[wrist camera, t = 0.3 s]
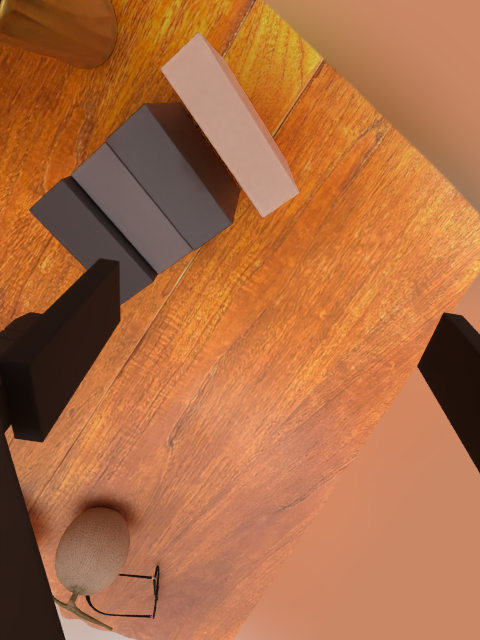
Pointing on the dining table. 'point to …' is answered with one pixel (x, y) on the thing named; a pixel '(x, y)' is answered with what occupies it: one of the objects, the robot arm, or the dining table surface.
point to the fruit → (91, 555)
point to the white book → (231, 123)
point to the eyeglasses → (138, 577)
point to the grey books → (142, 197)
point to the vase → (61, 29)
